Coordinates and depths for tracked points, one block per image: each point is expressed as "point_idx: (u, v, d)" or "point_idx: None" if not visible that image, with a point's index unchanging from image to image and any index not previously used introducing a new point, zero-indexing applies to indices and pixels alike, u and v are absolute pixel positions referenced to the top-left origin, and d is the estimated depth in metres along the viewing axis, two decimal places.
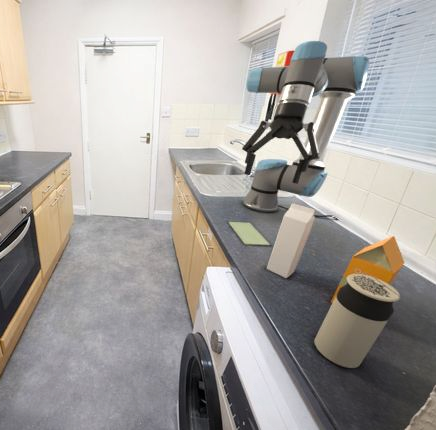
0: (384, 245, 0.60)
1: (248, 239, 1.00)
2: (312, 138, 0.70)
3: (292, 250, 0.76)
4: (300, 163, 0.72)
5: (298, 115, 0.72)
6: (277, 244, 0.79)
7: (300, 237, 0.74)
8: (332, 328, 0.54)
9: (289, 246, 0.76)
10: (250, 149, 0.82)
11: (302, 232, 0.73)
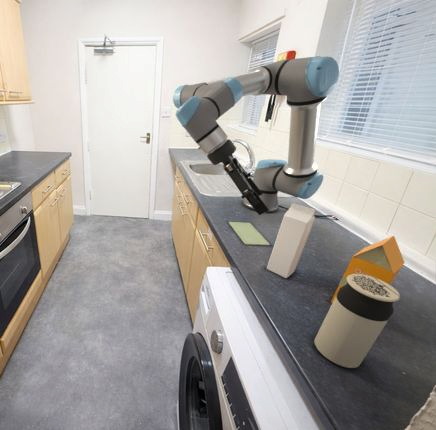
0: (384, 245, 0.60)
1: (248, 239, 1.00)
2: None
3: (292, 250, 0.76)
4: None
5: (217, 163, 0.75)
6: (277, 244, 0.79)
7: (300, 237, 0.74)
8: (332, 328, 0.54)
9: (289, 246, 0.76)
10: None
11: (302, 232, 0.73)
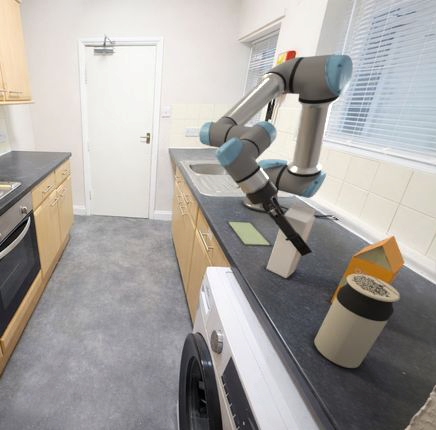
0: (384, 245, 0.60)
1: (248, 239, 1.00)
2: None
3: (292, 250, 0.76)
4: None
5: (257, 203, 0.75)
6: (277, 244, 0.79)
7: None
8: (332, 328, 0.54)
9: (289, 246, 0.76)
10: None
11: (302, 232, 0.73)
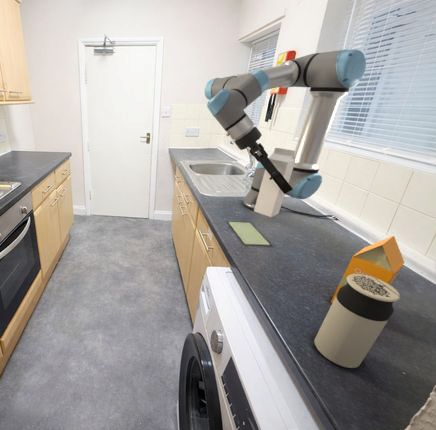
0: (384, 245, 0.60)
1: (248, 239, 1.00)
2: None
3: (275, 190, 0.86)
4: (274, 180, 0.84)
5: (244, 147, 0.84)
6: (263, 186, 0.88)
7: None
8: (332, 328, 0.54)
9: (273, 186, 0.86)
10: None
11: (284, 171, 0.82)
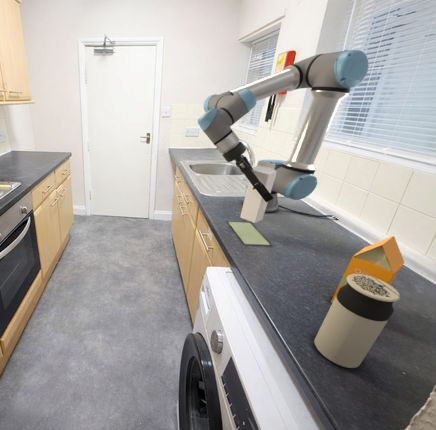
0: (384, 245, 0.60)
1: (248, 239, 1.00)
2: None
3: (258, 198, 0.95)
4: (257, 190, 0.93)
5: (231, 160, 0.94)
6: (247, 195, 0.98)
7: None
8: (332, 328, 0.54)
9: (257, 195, 0.95)
10: None
11: (265, 182, 0.92)
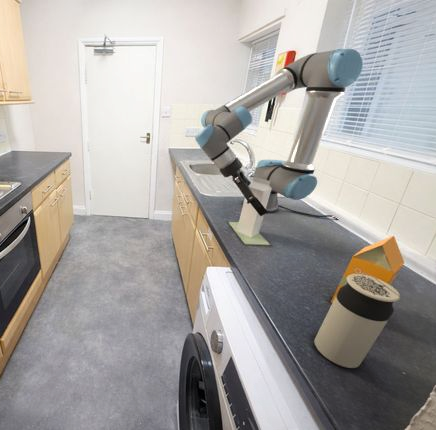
0: (384, 245, 0.60)
1: (248, 239, 1.00)
2: None
3: (254, 214, 0.98)
4: None
5: (227, 176, 0.96)
6: (243, 210, 1.01)
7: None
8: (332, 328, 0.54)
9: (252, 211, 0.98)
10: None
11: (261, 199, 0.94)
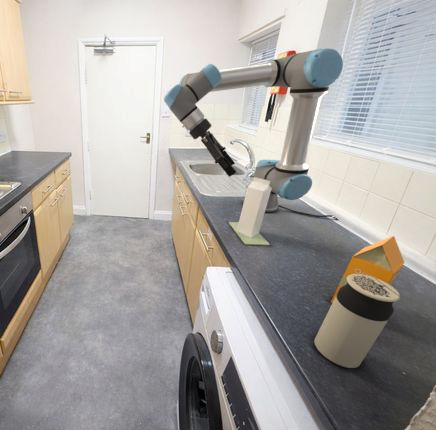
0: (384, 245, 0.60)
1: (248, 239, 1.00)
2: None
3: (254, 214, 0.98)
4: None
5: (196, 137, 0.95)
6: (243, 210, 1.01)
7: (259, 203, 0.95)
8: (332, 328, 0.54)
9: (252, 211, 0.98)
10: None
11: (261, 199, 0.94)
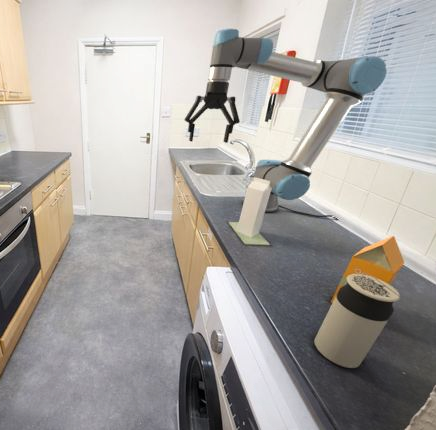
0: (384, 245, 0.60)
1: (248, 239, 1.00)
2: None
3: (254, 214, 0.98)
4: None
5: None
6: (243, 210, 1.01)
7: (259, 203, 0.95)
8: (332, 328, 0.54)
9: (252, 211, 0.98)
10: None
11: (261, 199, 0.94)
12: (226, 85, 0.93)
